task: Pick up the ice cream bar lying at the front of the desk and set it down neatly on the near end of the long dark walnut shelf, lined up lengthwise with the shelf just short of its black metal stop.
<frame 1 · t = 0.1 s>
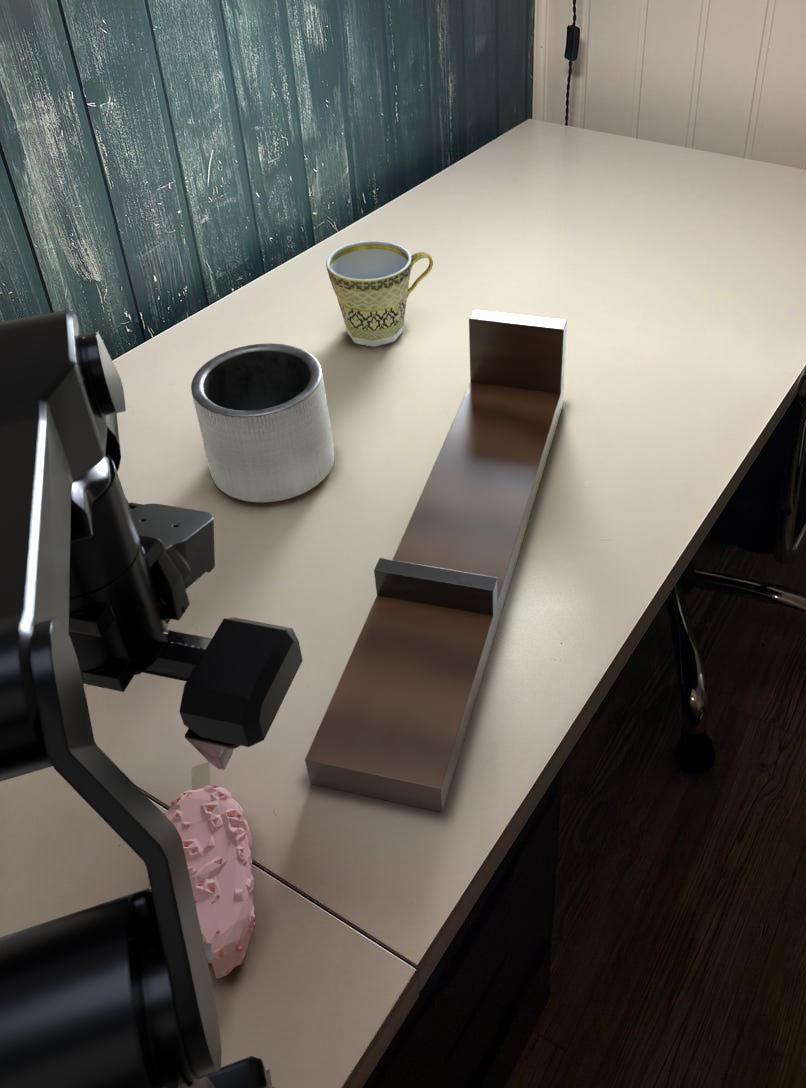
hand: (152, 746, 55), 14 cm above the table, tool pointing down, fingers open, 9 cm apart
ceramic cup: (387, 331, 118), on the table
planter: (274, 468, 97), on the table
shelf: (518, 399, 106), on the table
ice cream bar: (210, 877, 64), on the table
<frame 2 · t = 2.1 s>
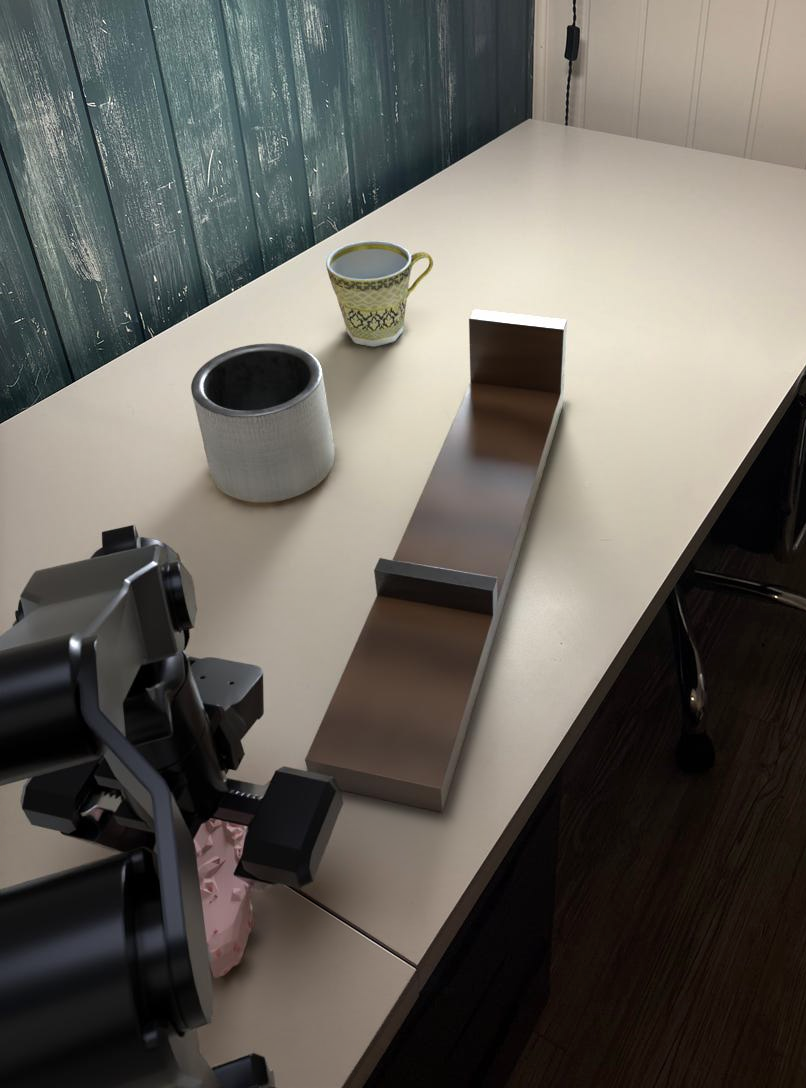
hand: (210, 869, 63), 1 cm above the table, tool pointing down, fingers closed on ice cream bar, 7 cm apart
ice cream bar: (208, 876, 64), on the table, touching gripper
everything else where it was.
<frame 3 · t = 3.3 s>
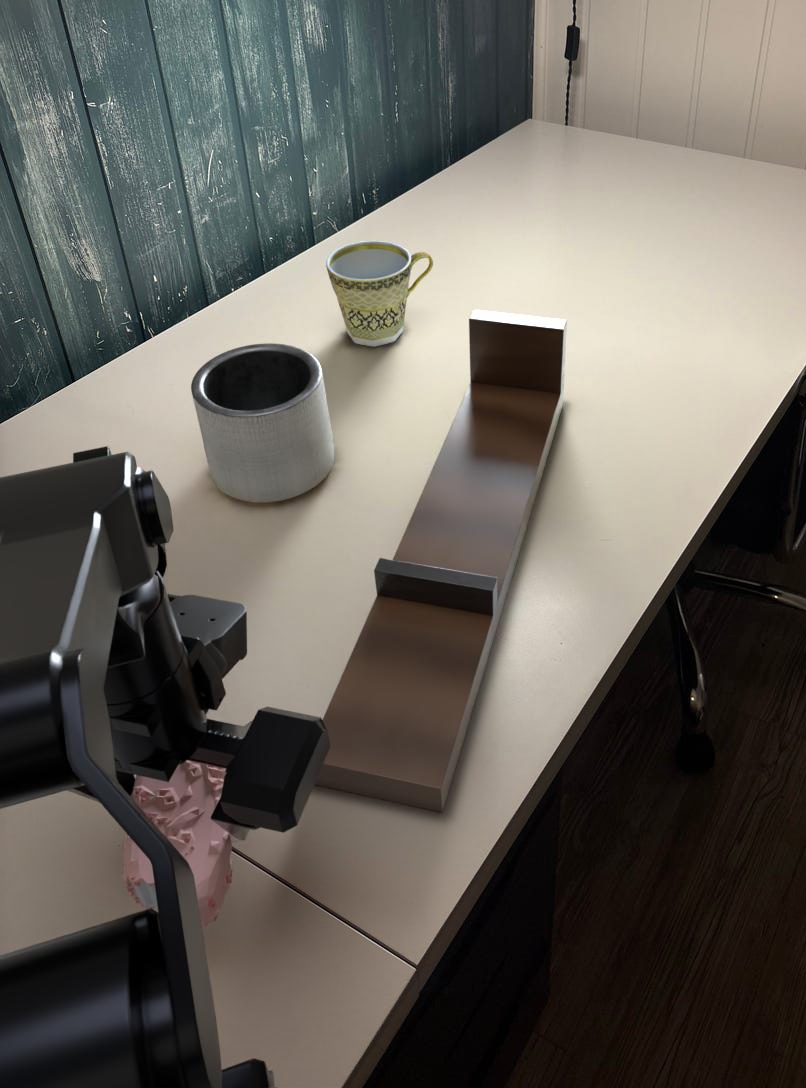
hand: (189, 819, 59), 7 cm above the table, tool pointing down, fingers closed on ice cream bar, 7 cm apart
ice cream bar: (187, 830, 60), point 6 cm above the table, touching gripper
everything else where it was.
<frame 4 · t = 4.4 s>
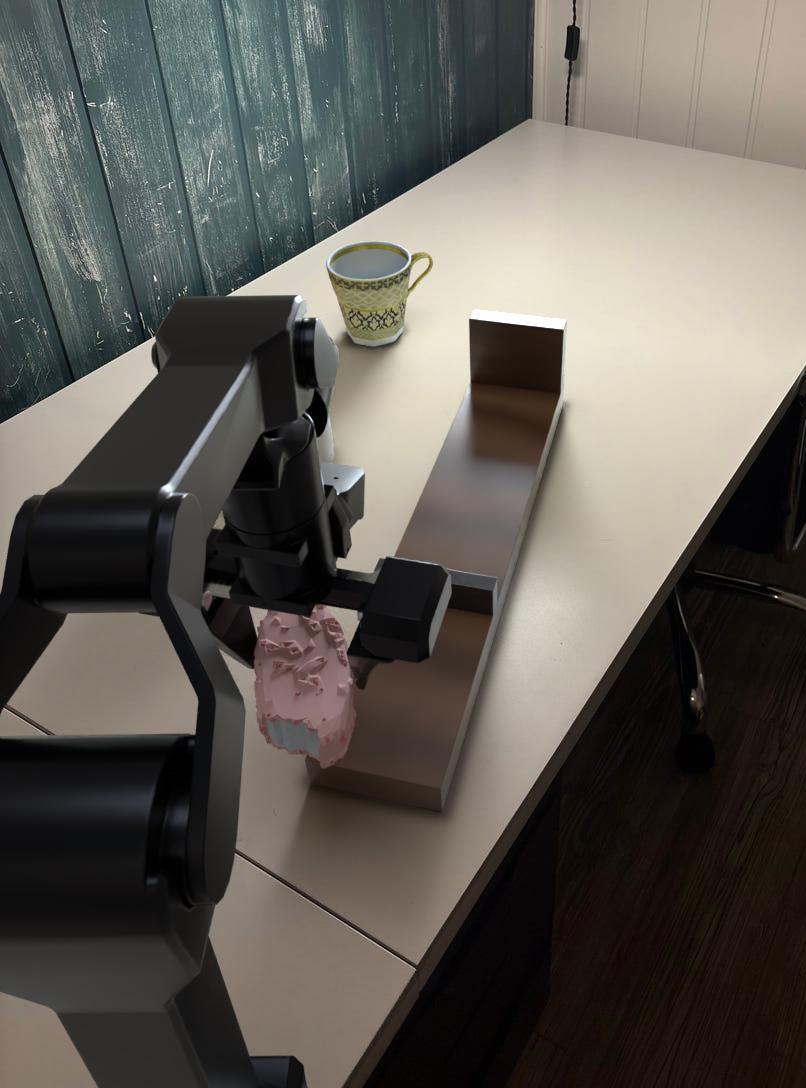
hand: (309, 673, 63), 11 cm above the table, tool pointing down, fingers closed on ice cream bar, 7 cm apart
ice cream bar: (306, 685, 63), point 10 cm above the table, touching gripper
everything else where it was.
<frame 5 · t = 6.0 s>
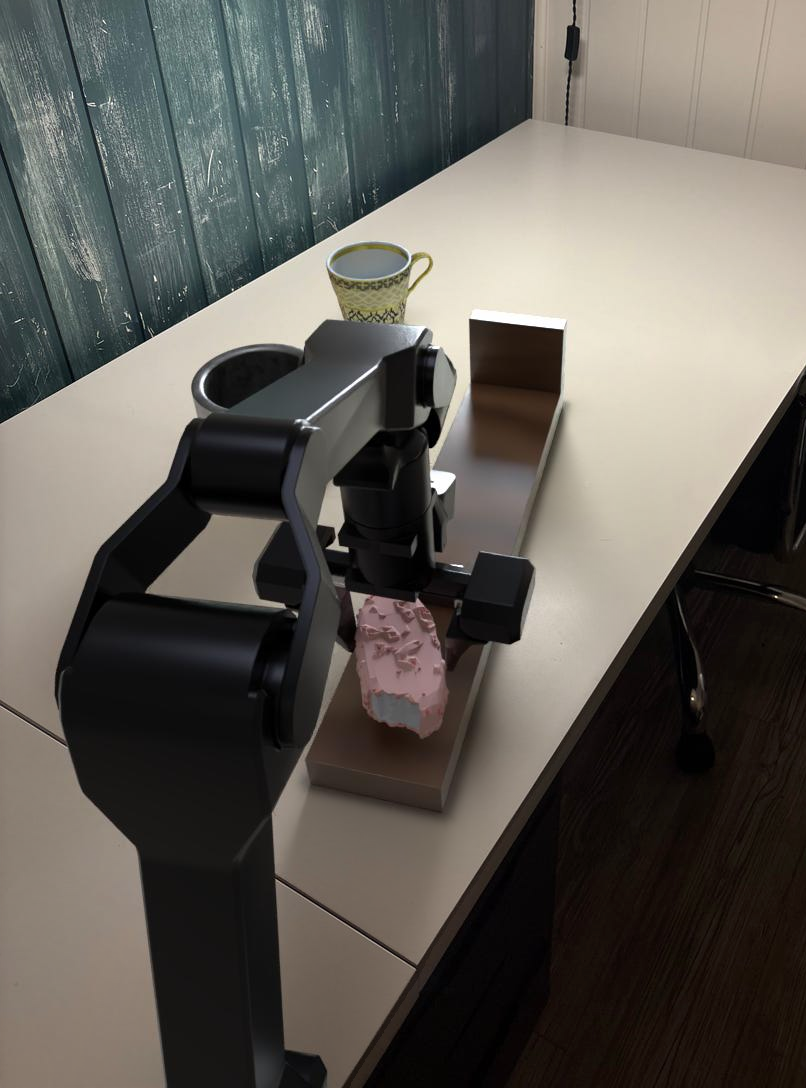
hand: (402, 657, 70), 6 cm above the table, tool pointing down, fingers closed on ice cream bar, 7 cm apart
ice cream bar: (398, 667, 71), point 5 cm above the table, touching gripper
everything else where it was.
when the fingers open (4 cm above the table, at t = 7.2 s): ice cream bar stays where it is, resting on shelf.
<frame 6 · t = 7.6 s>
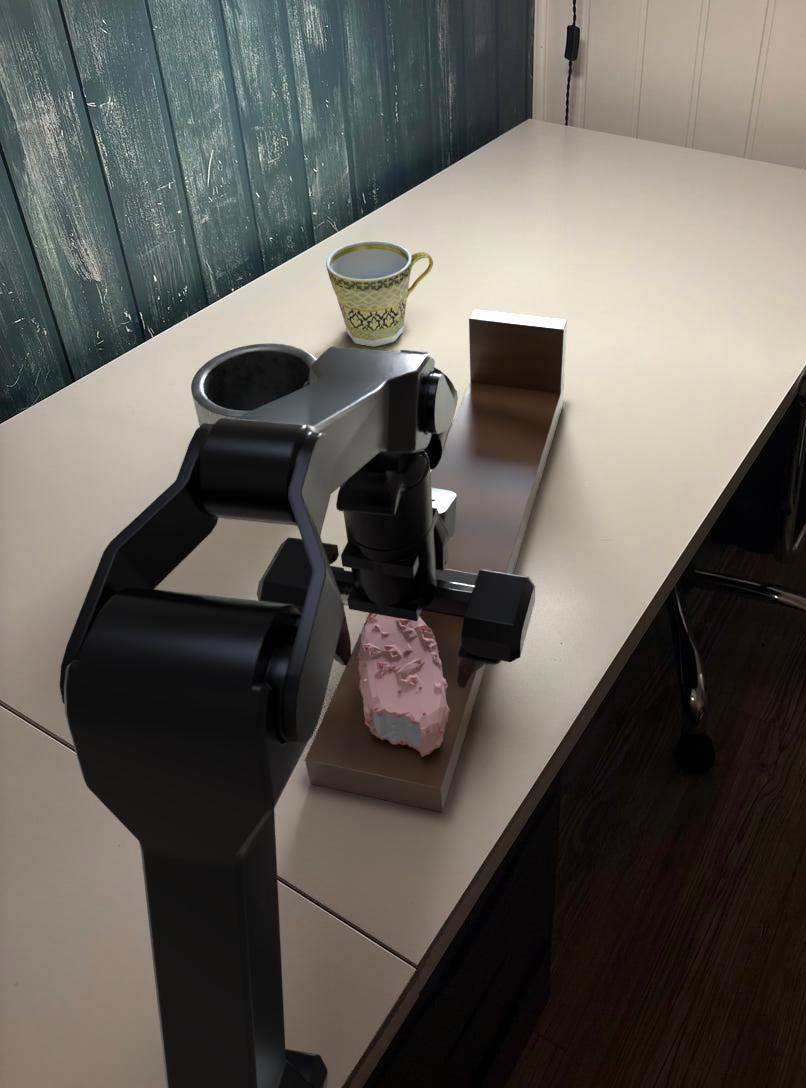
hand: (404, 671, 71), 4 cm above the table, tool pointing down, fingers open, 9 cm apart
ice cream bar: (401, 685, 72), point 3 cm above the table, touching shelf
everything else where it was.
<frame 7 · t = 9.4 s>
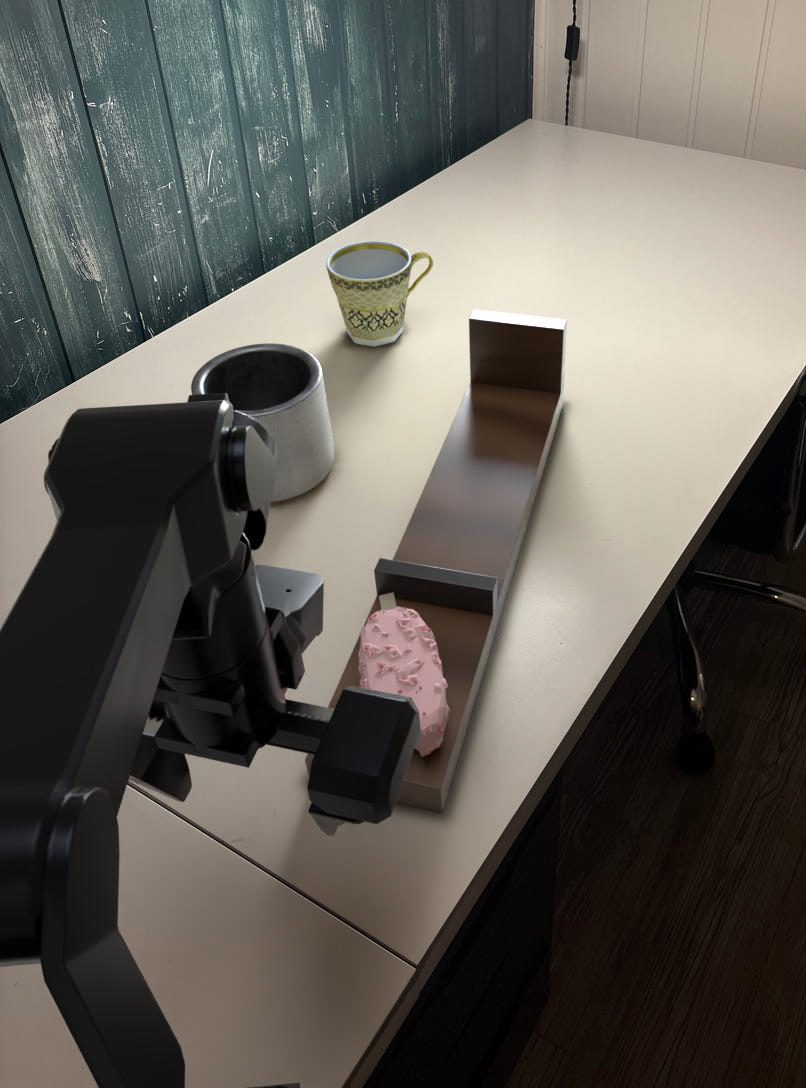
hand: (258, 810, 54), 12 cm above the table, tool pointing down, fingers open, 9 cm apart
nothing on the table moved.
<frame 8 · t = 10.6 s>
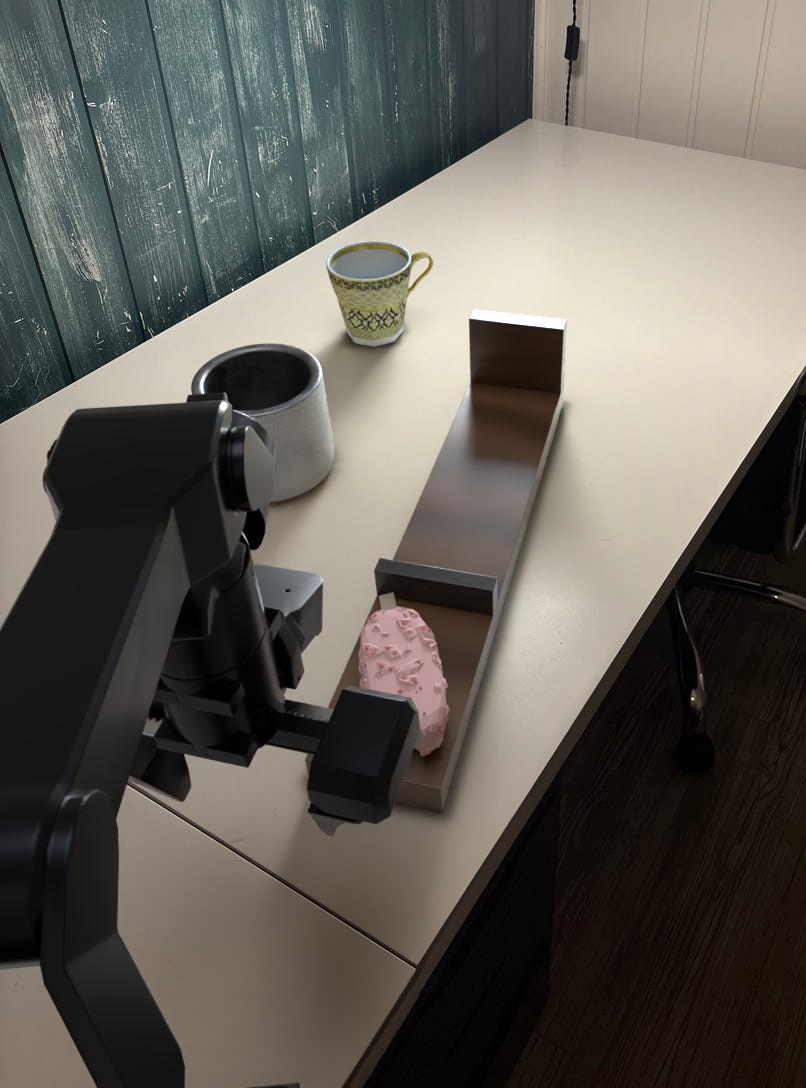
hand: (258, 810, 54), 12 cm above the table, tool pointing down, fingers open, 9 cm apart
nothing on the table moved.
at the end: ice cream bar 0.3 cm from the target spot on the shelf, point 2.8 cm above the shelf's base; ice cream bar tilted 0°; the gripper is holding nothing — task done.
